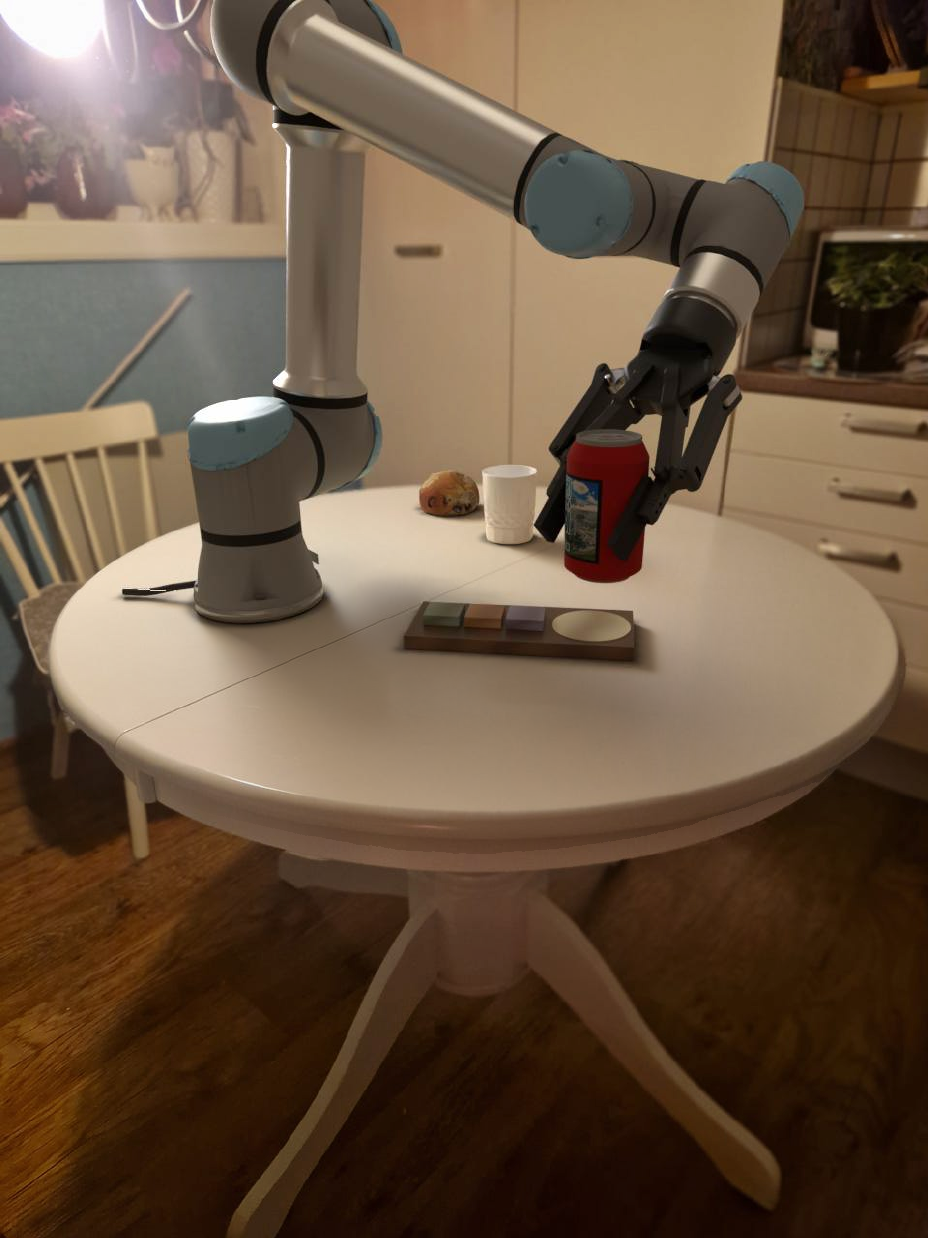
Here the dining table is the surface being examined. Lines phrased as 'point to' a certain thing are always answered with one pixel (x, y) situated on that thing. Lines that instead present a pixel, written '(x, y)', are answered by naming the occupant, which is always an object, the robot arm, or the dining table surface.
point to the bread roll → (449, 494)
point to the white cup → (509, 503)
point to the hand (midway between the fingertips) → (579, 542)
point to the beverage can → (601, 502)
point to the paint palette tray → (523, 630)
